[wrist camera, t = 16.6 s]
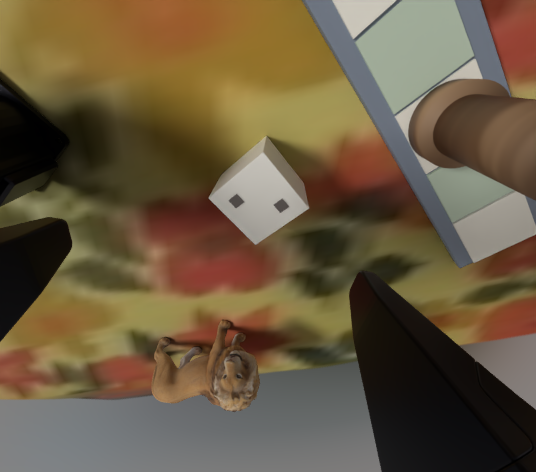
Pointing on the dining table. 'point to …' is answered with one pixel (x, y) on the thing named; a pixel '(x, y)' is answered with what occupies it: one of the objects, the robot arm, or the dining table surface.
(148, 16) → the dining table surface
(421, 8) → the track board
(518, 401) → the robot arm
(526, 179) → the pawn
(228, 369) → the lion figurine
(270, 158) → the die
